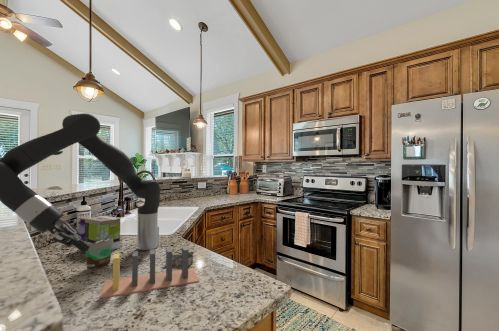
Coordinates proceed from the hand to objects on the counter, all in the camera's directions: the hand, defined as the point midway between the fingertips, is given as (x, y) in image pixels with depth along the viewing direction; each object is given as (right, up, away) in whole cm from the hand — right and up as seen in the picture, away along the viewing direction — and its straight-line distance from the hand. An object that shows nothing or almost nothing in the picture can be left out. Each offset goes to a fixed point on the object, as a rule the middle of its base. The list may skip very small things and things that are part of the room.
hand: (87, 249), depth 80 cm
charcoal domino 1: (+13, -13, +5) cm, 19 cm away
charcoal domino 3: (+23, -13, +9) cm, 28 cm away
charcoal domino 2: (+18, -13, +7) cm, 23 cm away
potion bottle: (-38, -14, +55) cm, 68 cm away
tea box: (-21, -14, +44) cm, 51 cm away
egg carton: (+22, -14, +25) cm, 36 cm away
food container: (-8, -14, +22) cm, 28 cm away
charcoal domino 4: (+28, -13, +12) cm, 33 cm away
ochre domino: (+8, -13, +3) cm, 15 cm away
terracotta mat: (+18, -14, +7) cm, 24 cm away
